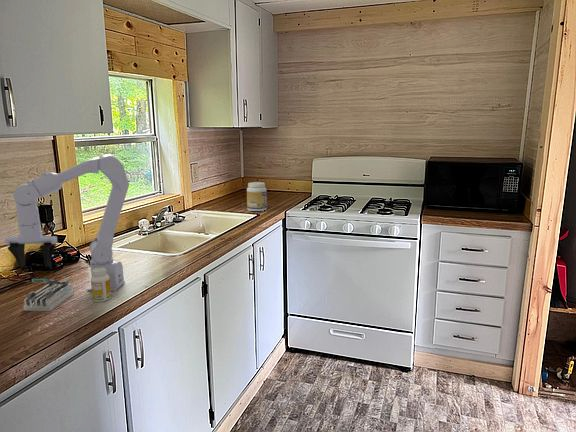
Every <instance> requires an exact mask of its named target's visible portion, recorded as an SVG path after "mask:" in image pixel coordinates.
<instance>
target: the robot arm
mask: <svg viewBox="0 0 576 432" xmlns="http://www.w3.org/2000/svg"><path fill="white" fill-rule="evenodd" d="M100 172H101V173H102V175H104V176H106V177H107V179H108V181H109V182H110V184H111V190H110V192H109V196H108V199H107V203H106V206H105V208H104V212H103V215H102V219H101V223H100V225H99V228H98V231H97V233H96V236H95V238H93V240H92V241H91V242H90V245H89V251H90V253H91V254H90V255H91V259H90V261H89V265H90V266H89V267H90V275H91V277H92V276H93V274H92V270H93V269H95V268H100V267H103V268H106V274H107V275H109V278H110V288H111V292H114V291H117V290H118V289H119V288H120V287H121V286H122V285H124V284H125V282H126V281H125V280H124V277H125V276H124V267H123V263H122V262H121V261H118V260H115V259H114V257H113V255H114V254H113V248H112V247H113V244H114V235H115V232H116V228H117V226H118V222H119V219H120V216H121V214H122V213H121V212H122V208H123V207H124V206H123V205H124V203H125V199H126V196H127V194H128V189H129V186H130V182H129V180H128V176H127V173H126V170H125V166H124V165H123V164H122V162H121V161H120V159H118V158H117V157H116V156H114V155H112V154H109V153H105V154H101V155H100V156H95V157H92V158H89V159H87V160H84V161H81V162H80V163H77V164H76V165H73V166H71V167H69V168H67V169H65V170H63V171H61V172H59V173H56V172H53V171H51V172H47V171H45V172H43V173H41V175H40V176H39V177H37V178H34V179H32V180H30V179H28V180H26V183H21V184H19V185H17V186H15V187H16V188H15V189H14V190H13V194H12V198H13V199H14V201H15V207H16V209H15V210H16V211H15V212H16V216H17V217H16V218H17V224H18V230H19V236H11V237H9V236H8V237H6V238H5V245H6V246H7V249H8V251H9V252H10V253H11V254H12V256H13V257H14V258H15V261H16V263H17V264H18V267H19V268H23V267H25V266H26V256H25V247H26V246H25V245H34V244H35V245H37V244H38V245H39V244H40V246H39V249H40V251H41V253H42V257H43V264H44V265H43V266H44V267H45V268H48V267H49V266H51V262H52V261H51V260H52V255H53V253H54V249H55V247H56V246H57V243H58V236H56V235H55V236H53V235H51V236H50V235H43V234H42V229H41V228H42V227H41V226H42V225H41V220H40V213H39V207H38V203H37V198H39V199H41V198H44V197H46V196H48V195H51V194H52V193H55V192H57V191H59V190H61V189H62V188H63V184H64V183H67V182H69V181H72V180H74V179H77V178H79V177H81V176H84V175H86V174H98V175H99V173H100ZM87 291H92V288H91V286H89V287H88V288H87Z"/></svg>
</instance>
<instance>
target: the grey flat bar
mask: <svg viewBox="0 0 576 432" xmlns="http://www.w3.org/2000/svg"><path fill="white" fill-rule="evenodd" d="M50 280H51V279H47V278H31V282H32V283H40V284H41V283H42V284H49V283H50V284H57V285H58V284H62V285H63V281H58V280H57V281H56V280H54V281H50Z"/></svg>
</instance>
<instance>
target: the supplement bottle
mask: <svg viewBox="0 0 576 432" xmlns="http://www.w3.org/2000/svg"><path fill="white" fill-rule="evenodd" d="M92 274H93V276H91V277H90V287H91V288H92V290H91V295H92V301H93V302H95V303H102V302H107V301H109V300H110V299H112V291H111V288H110V278H109V275H107V274H106V268H103V267H100V268H95V269H93V270H92Z"/></svg>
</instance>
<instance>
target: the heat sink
mask: <svg viewBox="0 0 576 432" xmlns="http://www.w3.org/2000/svg"><path fill="white" fill-rule="evenodd" d="M49 280H50V281H55V279H49ZM62 282H63V284H50V283H47V284H46V285H45V286H43V287H42V288H40V289H39V290H37V291H36V290H35V291H34V290H32V291H29V292H28V293H27V294H26V296H27V297H26V298H24V299H23V304H24V305H23V306H22V307H23V311H24V312H26V311H27V312H28V311H30V312H52V310H54V309H55V308H56V307H58V306H60V305H61V304H62V303H63V302H65V301H66V300H68V299H69V298H71V296H73V295H74V294H75V293H74V292H75V291H74V290H75V289H73V288H72V287H73V286H72V283H69V282H70V281H69V279H64V280H63V281H62Z"/></svg>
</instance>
